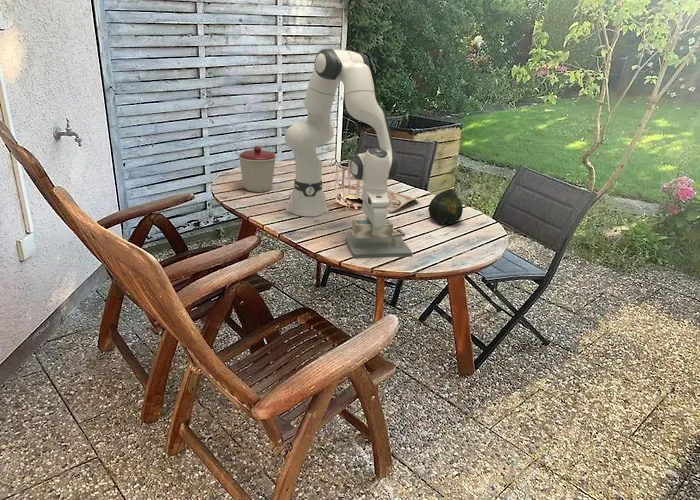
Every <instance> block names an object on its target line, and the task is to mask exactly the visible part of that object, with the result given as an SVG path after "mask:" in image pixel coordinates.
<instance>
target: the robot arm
mask: <svg viewBox="0 0 700 500" xmlns="http://www.w3.org/2000/svg"><path fill="white" fill-rule="evenodd" d="M313 63H314V68H313V71H312V73H311V75H310V78H309V82H308V86H307V90H306V94H305V98H304V101H303V105H304V108H305V109H306V110H307V111H306V112H307V118H306V120H305V121H301V122H296V123H294V124H292V125H291V126H289V127H288V128H287V129H286V131H285V133H284V141H285V144H286V146H287V147H288V148H289V149H290V150H291V151H292V154H293V157H294V160H295V161H294V162H295V178H294V182H293V187H294V188H293V190H292V191H291V193H288V199H289V200H288V202H287V204H286V208H285V212H286V213H289V214H290V213H291V214H293V215H297V216H298V217H299V216H301V217H318V216H321V215H323V214H326V213H328V212H329V211H330V209H329V207H327V205H326V193H325V192H324V190H323V185H324V184H323V180H322V176H323V175H322V173H323V171H322V170H323V162H322V161H321V159H320V158H319V157H318V154H317V151H316V150H317V147H320V146H321V147H322V146H324V145H326V144H327V143H329V142H331V140H332V139H333V137H334V134H335V131H334V127H333V125H332V124H331V111H332V108H333V104H334V100H335V96H336V93H337V89H338V85H339V83H340V82H342V84H343V90H344V91H343V93H344V94H343V95H344V96H343V97H344V104H345V108H346V109H345V110H346V111H347V113H348V114H349V115H350V116H351V117H352V118H353V119H355V120H357V121H360V122H361V123H364V124H367V125H369V126H370V127H371V128H373V129H374V131H375V133H376V137H377V141H378V144H379V145H378V146H379V147H371V148H368V149H367V150H366V152H363V153H362V152H361V153H357V154H354V156H353V157H352V158H351V160H350V165H349V167H350V168H349V169H350V170H349V171H350V172H349V173H350V174H351V176H353V177H354V179H356V180H359V181H363V185H362V187H363V193H362V199H363V200H362V205H361V206H362V207H361V208H362V209H361V210H362V211H363V213H364V214H365V217H366V220H370V222H371V223H372V226H373V228H372V235H377V231H378V228H384V226H385V223H386V219H387V216H388V213H387V207H389V199H388V196H387V194H388V193H387V190H388V187H389V186H388V180H390V181H391V180H393V179H394V178H396V177H397V175H398V174H399V172H400V168H401V164H400V159H399V157H398V155H397V154H398V153H397V151H396V149H395V145H394V141H393V137H392V132H391V129H390V123H389V120H388V117H387V114H386V111H385V110H384V109H383V108H382V107H380V105H379V103H378V101H377V98H376V93H375V85H374V84H375V83H374V79H373V76H372V72H371V68H370V67H371V65H370V64H371V63H370V61H369V58H368V57H367V56H366V55H365V54H363V53H361V52H357V51H352V50H349V49H348V50H347V49H332V48H323V49H321V50H320V51H318V52H317V54H316V55H315V59H314V62H313Z"/></svg>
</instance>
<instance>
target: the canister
mask: <svg viewBox="0 0 700 500" xmlns="http://www.w3.org/2000/svg"><path fill="white" fill-rule="evenodd" d="M237 157H238V159H239V165H240V173H241V179H242V185H243V187H244V189H245V190H246V191H249V192H252V193H253V192H254V193H263V192H267V191H270V190H271V189H272V186H273V181H274V174H275V166H276V159H277V158H278V157H277V155H276V154H275V153H274V152H271V151H268V150H264V149H262V147H261V146H259V145H256V146H254V147H253V149H249V150H245V151H244V150H243V151H241V152H240V153H238V155H237Z"/></svg>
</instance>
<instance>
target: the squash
mask: <svg viewBox="0 0 700 500" xmlns="http://www.w3.org/2000/svg"><path fill="white" fill-rule="evenodd" d="M427 210H428V215H429V216H430V218H432V219H433V220H435V221H437V222H438V224H440V225H443V224H445V225H451V224H452V223H456V222H458V221H459V220H460V219H461V217H462V216H463V210H464V208H463V203H462V201H461V199H460V197H459V196H458V194H457V192H456V191H455V190H454V188H450V189H449V188H448V189H446V190H443V191H441V192H439V193H438V194H436V195H435V196H434V197H433V198H432V199H431V201H430V202H429V204H428V209H427Z"/></svg>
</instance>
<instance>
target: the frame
mask: <svg viewBox="0 0 700 500" xmlns="http://www.w3.org/2000/svg"><path fill="white" fill-rule="evenodd" d="M393 227H394V223H392V221H391V220H390V219H387V218H386V223H385V226H384V228H378V231H377V235H372V228H373V226H372V223H371V222H370V220H367V219H352V220H351V234H352V237H354V238H385V237H401V238H402V237H405V236H406V233H404V231H403V230H402V229H401V228H400V229H399V228H398V229H394V228H393ZM393 230H397V234H392V231H393Z"/></svg>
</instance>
